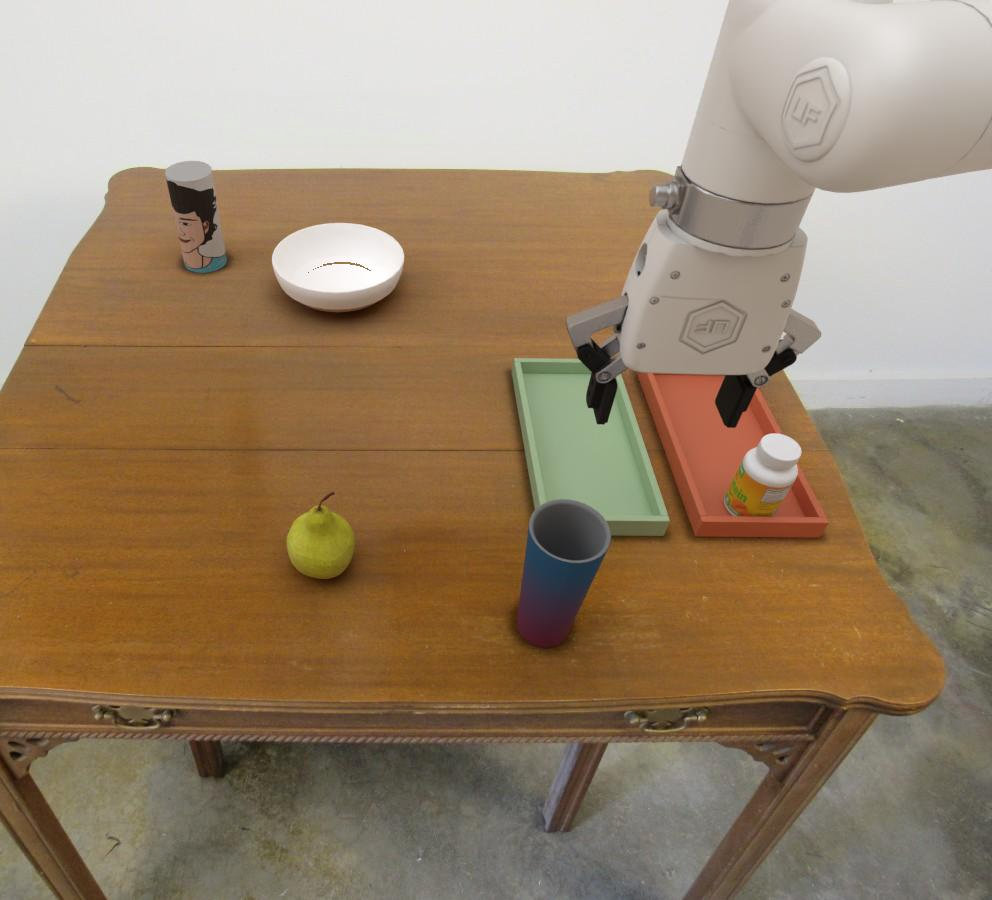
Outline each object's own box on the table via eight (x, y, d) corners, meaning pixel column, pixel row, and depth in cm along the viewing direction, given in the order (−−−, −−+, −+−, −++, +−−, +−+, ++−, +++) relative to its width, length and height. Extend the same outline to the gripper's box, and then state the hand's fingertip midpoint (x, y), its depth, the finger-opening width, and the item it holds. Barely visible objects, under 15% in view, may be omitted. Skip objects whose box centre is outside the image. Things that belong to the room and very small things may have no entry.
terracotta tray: (819, 537, 80) (829, 522, 79) (694, 536, 80) (702, 521, 78) (737, 375, 100) (744, 360, 98) (637, 374, 100) (641, 359, 98)
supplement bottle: (714, 491, 84) (744, 429, 77) (759, 487, 85) (793, 426, 78) (735, 528, 80) (768, 467, 74) (782, 524, 81) (819, 463, 74)
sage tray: (663, 536, 80) (670, 521, 78) (538, 535, 80) (542, 519, 78) (611, 374, 100) (616, 358, 98) (511, 372, 100) (513, 357, 98)
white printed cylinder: (186, 251, 121) (168, 161, 110) (228, 249, 121) (213, 160, 110) (181, 273, 116) (161, 181, 105) (225, 272, 116) (209, 180, 106)
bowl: (374, 341, 104) (373, 305, 100) (252, 310, 109) (246, 274, 105) (421, 272, 117) (423, 237, 113) (310, 247, 122) (308, 213, 117)
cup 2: (508, 591, 75) (529, 494, 64) (576, 600, 74) (608, 503, 64) (506, 651, 70) (528, 557, 60) (578, 661, 70) (614, 567, 59)
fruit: (277, 578, 76) (264, 502, 67) (309, 530, 80) (300, 453, 72) (337, 601, 74) (331, 526, 66) (366, 551, 78) (364, 474, 70)
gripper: (603, 232, 42) (554, 445, 54) (909, 239, 42) (791, 451, 54) (583, 174, 47) (542, 380, 60) (854, 179, 47) (758, 385, 59)
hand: (661, 413), depth 57 cm, fingers open, 9 cm apart
